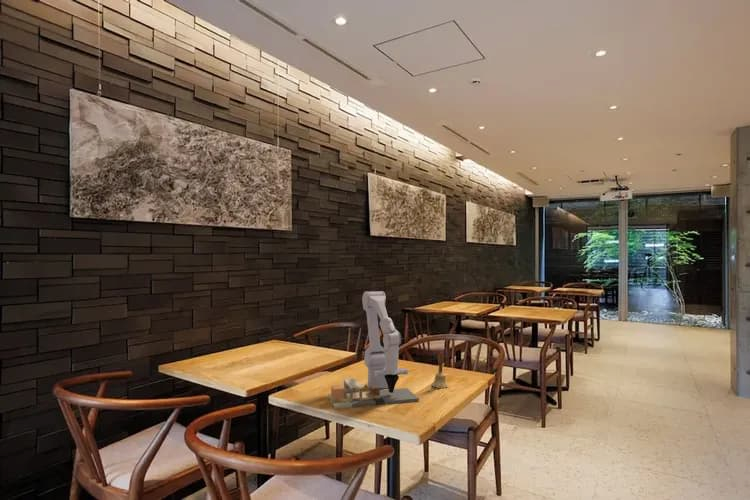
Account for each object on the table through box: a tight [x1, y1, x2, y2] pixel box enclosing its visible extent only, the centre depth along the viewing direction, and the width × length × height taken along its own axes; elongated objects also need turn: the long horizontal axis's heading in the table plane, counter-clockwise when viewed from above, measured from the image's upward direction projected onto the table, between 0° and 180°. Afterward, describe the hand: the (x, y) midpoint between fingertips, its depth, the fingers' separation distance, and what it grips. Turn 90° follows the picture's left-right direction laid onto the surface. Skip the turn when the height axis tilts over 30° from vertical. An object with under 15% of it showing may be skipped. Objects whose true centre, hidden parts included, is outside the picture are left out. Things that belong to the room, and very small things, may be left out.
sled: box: [330, 385, 381, 402], centre depth 177 cm, size 20×7×4 cm, turn 107°
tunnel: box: [343, 378, 364, 403], centre depth 177 cm, size 5×12×6 cm, turn 17°
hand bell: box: [430, 351, 450, 389], centre depth 200 cm, size 8×8×16 cm
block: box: [330, 384, 344, 399], centre depth 175 cm, size 4×4×4 cm
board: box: [327, 387, 420, 410], centre depth 180 cm, size 36×14×1 cm, turn 107°
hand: (390, 391), depth 182 cm, fingers closed
